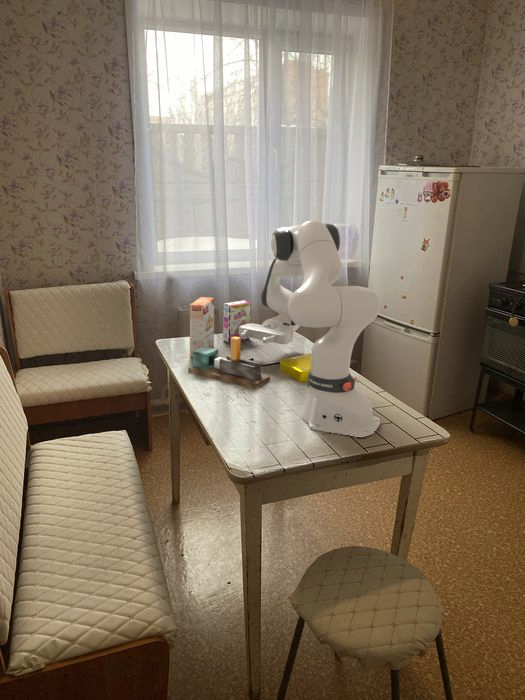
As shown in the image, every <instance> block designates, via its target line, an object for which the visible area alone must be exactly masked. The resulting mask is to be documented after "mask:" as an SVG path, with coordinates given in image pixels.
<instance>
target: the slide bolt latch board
mask: <svg viewBox="0 0 525 700" xmlns="http://www.w3.org/2000/svg"><path fill="white" fill-rule="evenodd" d="M218 357H219V348H210V347H206V346H204V347H202V348H199V349H197V350H194V351H193V357H192V366H191V365H190V366H189V367H188V368H187V372H188V373H190V374H191V373H193V374H196V375H199V376H204V377H207V378H211V379H214V380H218V381H222V382H225V383H230V384H234V385H236V386H237V385H238V386H241V387H245V388H249V389H251V390H256V389H257V388H259V387H260V386H262V385H264V384H266V383H267V382H269V381H270V380H271V376H270V375H267V374H264V373H262V362H258V361H254V360H250V359H246V358H241V357H240V362H242V363H239V362H234V361H230V360H231V355H229V354H228V355H226V356H225V357H226V358H225V359H222V358H223V357H221V359H220V369H219V368H215V367H214V359H216V358H218ZM226 359H230V360H226ZM243 363H246V364H243ZM247 364H248V365H247Z"/></svg>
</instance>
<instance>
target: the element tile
mask: <svg viewBox="0 0 525 700" xmlns="http://www.w3.org/2000/svg"><path fill="white" fill-rule="evenodd" d="M310 368H311V353H307V354H301V355H297V356H291V357H287V358H281V359H280V361H279V370H280V372H281V373H283V374H285V375H287V376H289V377H290V378H292V379H294V380H296V381H298V382H301V383H308V376H309V370H310Z"/></svg>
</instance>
